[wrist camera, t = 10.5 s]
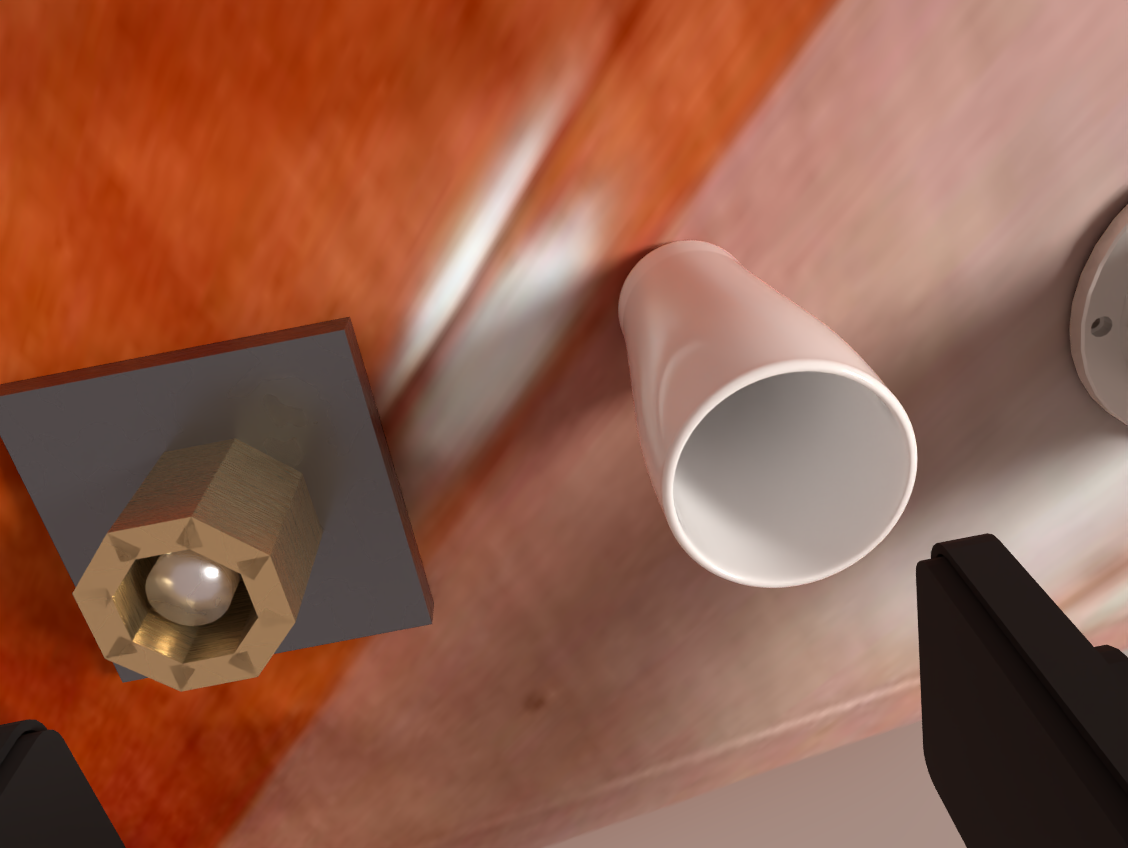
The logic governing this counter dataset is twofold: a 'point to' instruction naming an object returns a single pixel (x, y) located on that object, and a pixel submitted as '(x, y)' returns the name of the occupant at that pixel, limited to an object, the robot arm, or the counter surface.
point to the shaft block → (216, 413)
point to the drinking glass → (758, 422)
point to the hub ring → (219, 532)
